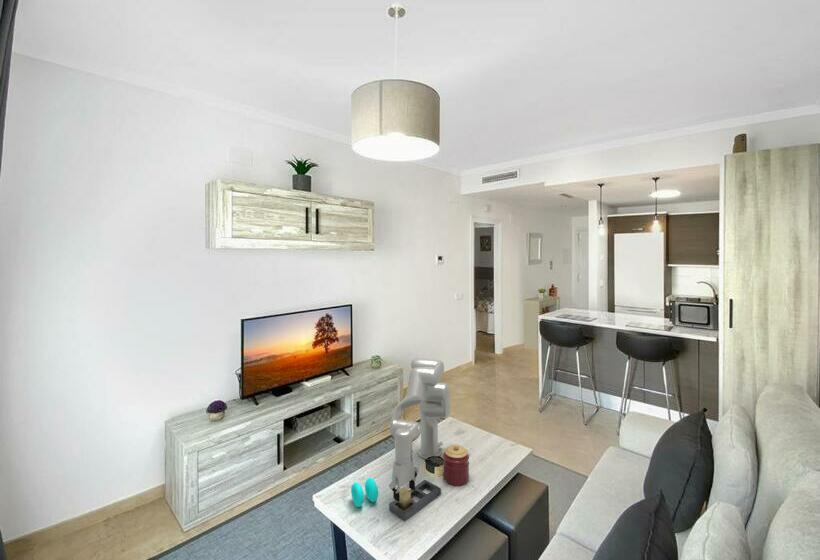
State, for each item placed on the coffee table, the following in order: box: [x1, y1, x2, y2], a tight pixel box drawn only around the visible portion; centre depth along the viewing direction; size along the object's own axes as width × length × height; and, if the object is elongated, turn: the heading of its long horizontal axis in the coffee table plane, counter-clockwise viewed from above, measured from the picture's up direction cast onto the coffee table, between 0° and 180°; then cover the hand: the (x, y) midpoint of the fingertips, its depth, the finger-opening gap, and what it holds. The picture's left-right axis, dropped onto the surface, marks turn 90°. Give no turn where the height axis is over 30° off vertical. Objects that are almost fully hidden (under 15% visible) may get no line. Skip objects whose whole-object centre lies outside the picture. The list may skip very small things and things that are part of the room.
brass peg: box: [398, 486, 411, 511], centre depth 163 cm, size 4×4×9 cm
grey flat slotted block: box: [388, 479, 442, 522], centre depth 169 cm, size 24×10×3 cm, turn 136°
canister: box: [442, 444, 470, 487], centre depth 185 cm, size 13×13×18 cm
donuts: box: [350, 477, 379, 508], centre depth 169 cm, size 10×10×10 cm
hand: (404, 494), depth 163 cm, fingers open, 9 cm apart
